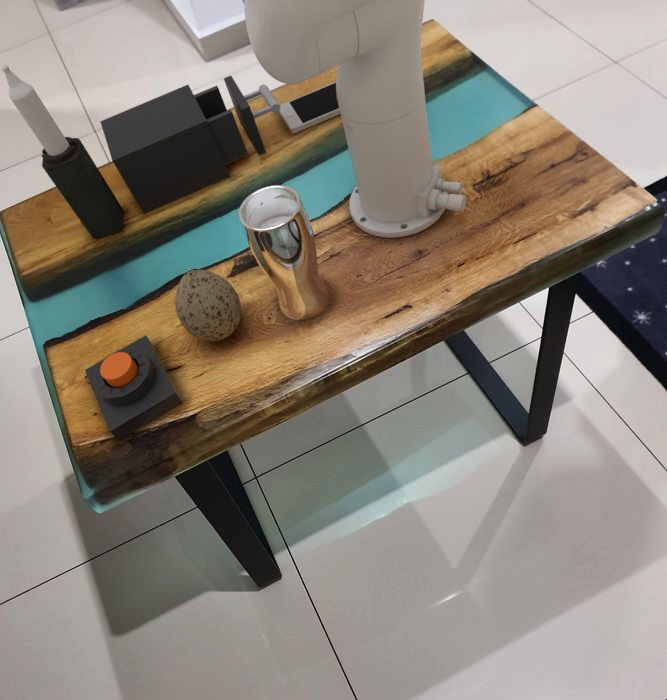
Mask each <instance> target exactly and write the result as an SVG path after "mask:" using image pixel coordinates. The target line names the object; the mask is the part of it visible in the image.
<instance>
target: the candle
mask: <svg viewBox="0 0 667 700" xmlns="http://www.w3.org/2000/svg"><path fill="white" fill-rule="evenodd" d="M0 69H1V71H2V72H4V75H5V78H6V82H7V85H8V96H9V99H10V101H11V102H12V104H13V105H14V106H15V107H16V109H17V111H18V112H19V114H20V115H21V116H22V118H23V119H24V121H25V122H26V125H28V127H29V128H30V130H31V131H32V133H33V135H34V136H35V137H36V138H37V140H38V141H39V143H40V145H41V146H42V147H43V149H42V150H41V153H42V154H41V158H42V161H41V167H42V169H43V170H44V172H45V173H46V174H47V176H48V177H49V179H50V180H51V181H52V183H53V184H54V186H55V187H56V188H57V190H58V192H59V194H61V196H62V197H63V199H64V200H65V201H66V203H67V204H68V205H69V207H70V208H71V210H72V212H73V213H74V214H75V215H76V217H77V218H78V219H79V221H80V223H81V224H82V226H83V227H84V228H85V230H86V231H87V233H88V234H89V236H90V237H91V238H92V239H94V240H99V239H102V238H106V237H109V236H112V235H115V234H118V233H120V232H122V231H123V230H124V229H125V226H126V224H125V221H124V219H125V218H124V215H125V213H126V212H125V210H124V209H123V207H122V205H121V203H120V202H119V200H118V199H117V197H116V196H115V194H114V192H113V190H112V189H111V187H110V186H109V184H108V182H107V181H106V179H105V177H104V176H103V174H102V173H101V171H100V169H99V168H98V167H97V165H96V163H95V161H94V160H93V158H92V157H91V155H90V153H89V151H88V150H87V149H86V147H85V145H84V144H83V141H82V140H81V139H80V138H78V137H71V136H65V135H64V134H63V132H62V131H61V129H60V128H59V126H58V124H57V123H56V121H55V120H54V118H53V116H52V115H51V113H50V112H49V111H48V109H47V107H46V106H45V104H44V103H43V101H42V99H41V98H40V96H39V95H38V93H37V92H36V90H35V88H34V87H33V86H32V84H30V83H28V82H26V81H24V80H22V79H21V78H19V77H18V76H17V75H16V74H15V73H14V72H13V71H12V70H11V69H10V66H9V65H8V64H5V63H4V64H2V65H1V67H0Z"/></svg>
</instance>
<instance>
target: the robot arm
mask: <svg viewBox="0 0 667 700" xmlns="http://www.w3.org/2000/svg"><path fill="white" fill-rule="evenodd" d="M242 3H243V4H244V6H243V7H244V20H245V26H246V31H247V36H248V39H249V42H250V46H251V49H252V51H253V53H254V56H255V58H256V60H257V61H258V63H259V64H260V66H261V67H262V69H263V70H264V71H265V72H266V73H267V74H268V75H269V76H270V77H271V78H272V79H274V80H276V81H277V82H279V83H282V84H285V85H298V84H301V83H305V82H306V81H309V80H311V79H313V78H315V77H318V76H320V75H322V74H325V73H326V72H328V71H331V70H332V69H334V68H336V67H337V71H336V72H337V73H336V78H335V79H336V80H335V82H336V94H337V100H338V105H339V109H340V113H341V114H340V118H341V121H342V127H343V131H344V135H345V139H346V143H347V149H348V152H349V157H350V161H351V166H352V170H353V175H354V180H355V183H356V186H355V187H354V189H353V191H352V193H351V194H350V198H349V202H348V203H349V204H348V205H349V206H348V208H349V212H350V217H351V219H352V220H353V223H354V224H355V225H356V226H357V227H358V228H359V229H360V230H361V231H363V232H365V233H367V234H369V235H372V236H375V237H379V238H389V239H393V238H402V237H408V236H411V235H414V234H418V233H420V232H421V231H424V230H426V229H427V228H429V227H430V226H432V225H433V224H435V223H436V222H437V221H438V220H439V219H440V218H441V216H442V215H443V214H444V212H445V210H447V211H453V212H459V213H463V212H464V211H465V209H466V205H467V196H466V195H462V191H463V182H457V181H447V180H446V179H445V178H442V173H441V172H442V171H441V166H440V165H433V162H432V152H431V141H430V140H431V139H430V131H429V122H428V113H427V111H428V110H427V102H426V94H425V93H426V92H425V81H424V71H423V69H424V68H423V57H422V55H423V54H422V32H423V19H424V10H425V0H242Z"/></svg>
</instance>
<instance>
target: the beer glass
mask: <svg viewBox="0 0 667 700" xmlns="http://www.w3.org/2000/svg"><path fill="white" fill-rule="evenodd" d="M238 220H239V222H240V224H241V228H242V231H243V233H244V237H245V239H246V242H247V245H248V247H249V250H250V252H251V254H252V256H253V259H254V260H255V261H256V263H257V265H258V266H259V268H260V269H261V270H262V271H263V273H264V275H265V276H266V277H267V278H268V280H269V281H270V282H271V284H272V285H273V287H274V288H275V290H276V293H277V298H278V305H279V309H280V310H281V312H282V313H283V315H284V316H286V317H287V318H288V319H290V320H294V321H307V320H310V319H313V318H315V317H317V316H318V315H320V314H321V313H323V312H324V310H325V309H326V308H327V306H328V304H329V302H330V292H329V289H328V287H327V285H326V284H325V283H324V281H323V280H322V278H321V276H320V275H321V274H320V272H319V266H318V254H317V244H316V238H315V234H314V230H313V226H312V223H311V220H310V217H309V214H308V212H307V211H306V207H305V206H304V203H303V202H302V200H301V196H300V194H299V192H298V191H297V190H296V189H294V188H293V187H291V186H288V185H283V184H274V185H273V184H272V185H268V186H265V187H261V188H259V189H257V190H255V191H253V192H251V193H250V194H249V195H248V196H247V197H245V199H244V200H243V201H242V203H241V204H240V206H239V208H238Z"/></svg>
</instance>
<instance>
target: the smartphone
mask: <svg viewBox="0 0 667 700" xmlns="http://www.w3.org/2000/svg"><path fill="white" fill-rule="evenodd" d="M279 105H280V111H279V112H278V114H279V115H280V116H281V118H282V120H283V121H284V123H285V125H286V127H287V128H288V129H289V131H290V132H291V134H297V133H299V132H301V131H304V130H306V129H308V128H310V127H313V126H316V125H318V124H320V123H323V122H324V121H327V120H329V119H331V118H334V117H336V116H339V115H341V113H340V109H339V105H338V100H337V94H336V81H335V82H331V83H329V84H327V85H325V86H322V87H320V88H318V89H315V90H313V91H310V92H308V93H306V94H302V95H301V96H299V97H296V98H293V99H291V100H289V101H287V102H284V103H281V104H279Z"/></svg>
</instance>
